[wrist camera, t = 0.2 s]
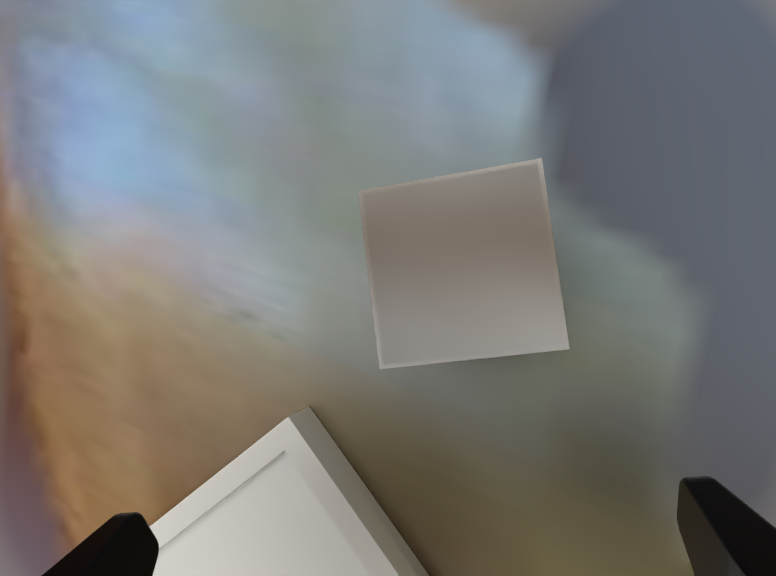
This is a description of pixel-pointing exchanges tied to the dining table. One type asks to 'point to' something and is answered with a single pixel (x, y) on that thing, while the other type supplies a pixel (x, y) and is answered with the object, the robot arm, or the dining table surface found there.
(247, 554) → the tray
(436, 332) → the brown rectangular block
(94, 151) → the dining table surface
